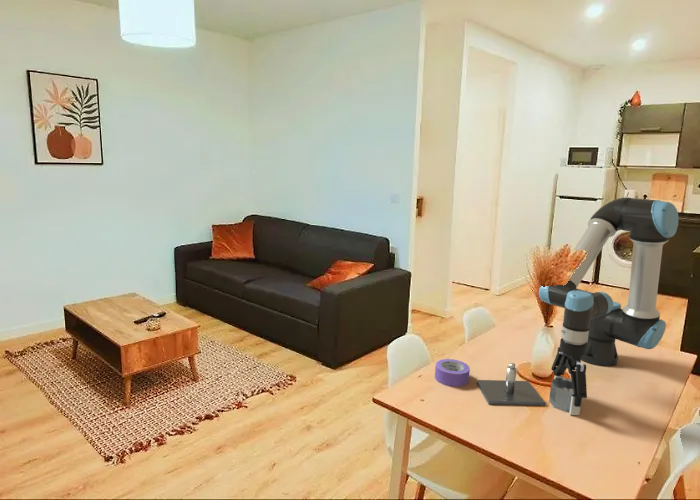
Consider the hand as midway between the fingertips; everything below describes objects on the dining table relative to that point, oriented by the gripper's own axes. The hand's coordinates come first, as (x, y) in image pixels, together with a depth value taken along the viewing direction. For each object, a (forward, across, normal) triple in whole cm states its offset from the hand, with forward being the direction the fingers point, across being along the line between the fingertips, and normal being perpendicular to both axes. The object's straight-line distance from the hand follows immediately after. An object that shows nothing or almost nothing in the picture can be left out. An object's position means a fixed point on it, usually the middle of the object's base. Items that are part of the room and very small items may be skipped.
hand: (565, 403), depth 151 cm
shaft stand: (0, -6, -16) cm, 17 cm away
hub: (0, 0, 0) cm, 0 cm away
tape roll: (+1, -16, -33) cm, 37 cm away
